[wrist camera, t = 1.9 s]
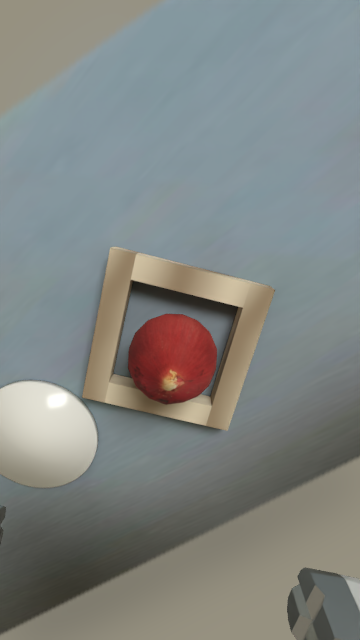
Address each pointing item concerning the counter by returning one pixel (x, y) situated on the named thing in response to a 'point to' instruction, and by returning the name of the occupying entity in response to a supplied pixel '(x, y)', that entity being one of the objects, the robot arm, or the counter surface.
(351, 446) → the counter surface
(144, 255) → the frame
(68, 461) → the white domed disc
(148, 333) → the onion
